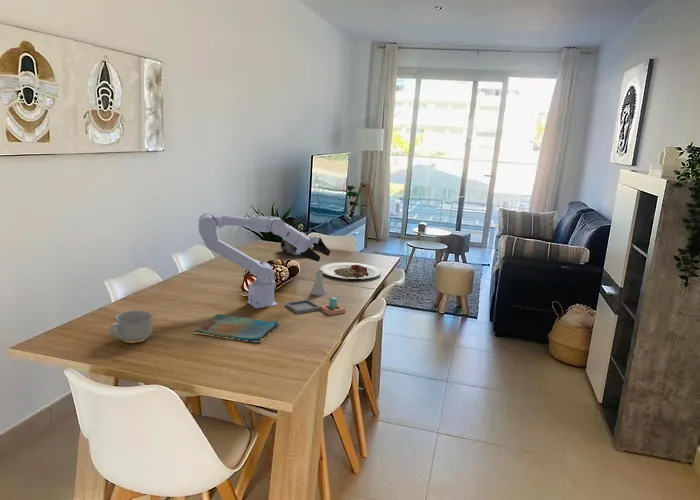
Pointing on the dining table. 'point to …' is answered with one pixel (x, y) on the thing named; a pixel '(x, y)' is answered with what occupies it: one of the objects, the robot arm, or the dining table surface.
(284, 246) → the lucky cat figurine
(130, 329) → the teacup
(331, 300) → the pin
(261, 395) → the dining table surface
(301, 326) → the dining table surface
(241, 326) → the dish towel
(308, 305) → the tray
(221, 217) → the robot arm
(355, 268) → the plated food
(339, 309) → the salmon square dish
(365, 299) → the dining table surface
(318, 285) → the flask
